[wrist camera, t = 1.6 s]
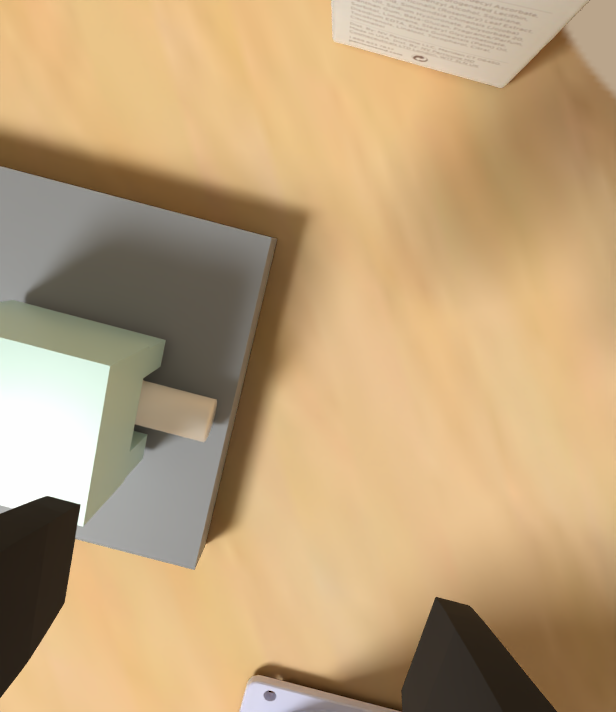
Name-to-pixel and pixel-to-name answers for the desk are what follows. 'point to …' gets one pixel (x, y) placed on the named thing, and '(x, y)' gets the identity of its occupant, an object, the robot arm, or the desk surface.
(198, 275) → the board
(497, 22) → the small box
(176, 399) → the wooden dowel
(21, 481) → the sleeve
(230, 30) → the desk surface
